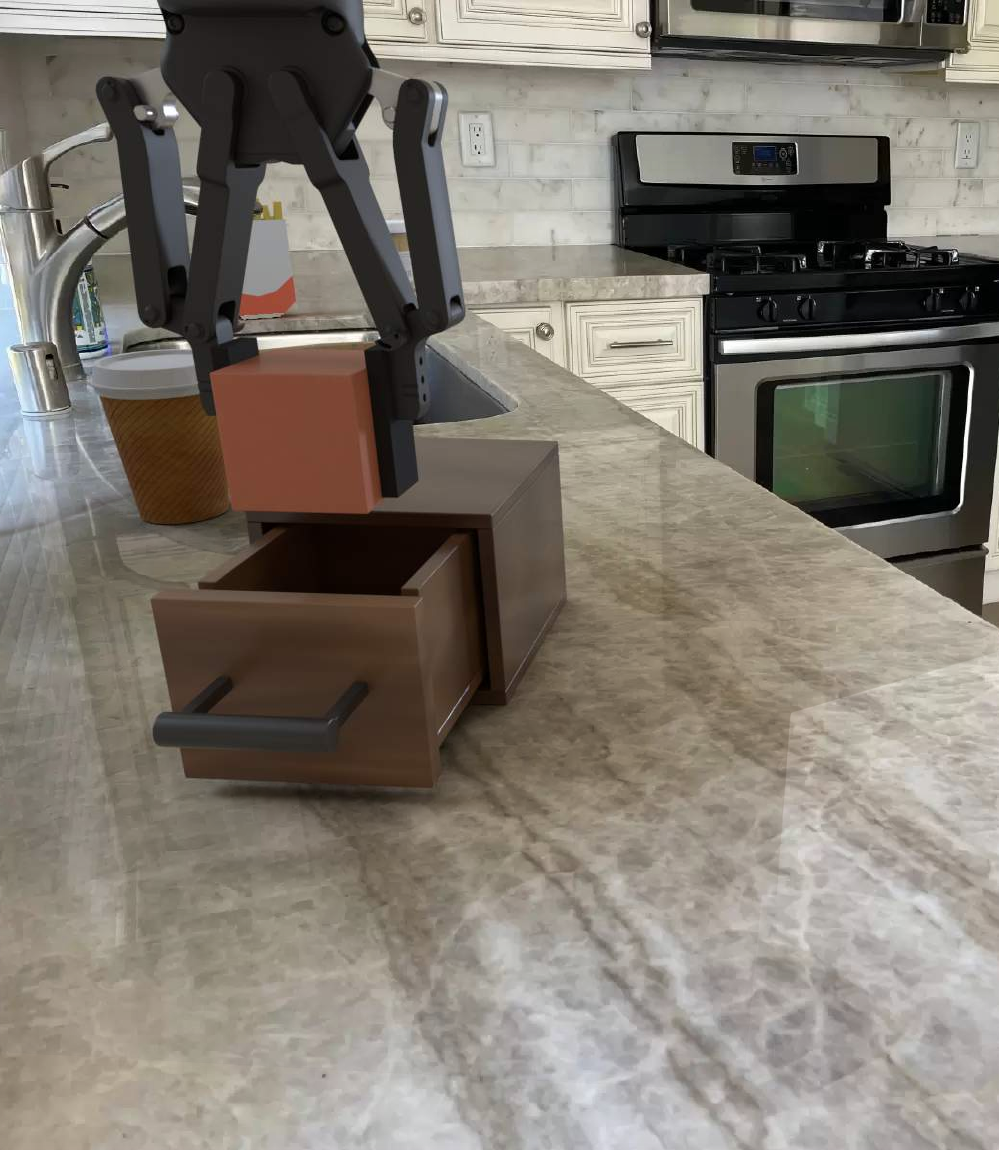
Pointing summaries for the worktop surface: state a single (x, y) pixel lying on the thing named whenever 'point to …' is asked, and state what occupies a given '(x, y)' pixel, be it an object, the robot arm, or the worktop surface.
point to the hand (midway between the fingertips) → (327, 486)
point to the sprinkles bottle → (401, 244)
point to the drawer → (325, 656)
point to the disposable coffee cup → (163, 434)
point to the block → (298, 432)
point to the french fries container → (268, 266)
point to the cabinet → (483, 537)
